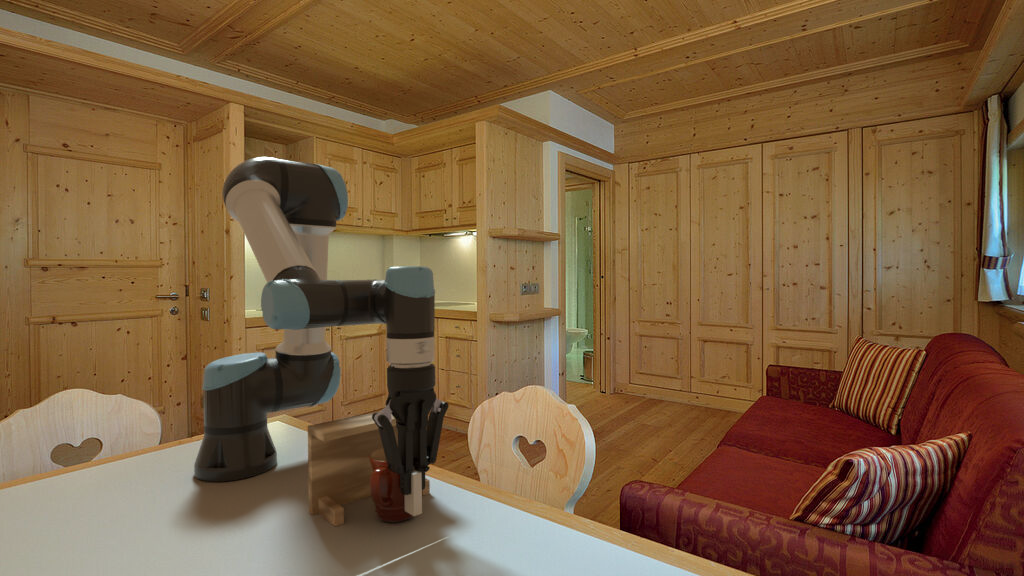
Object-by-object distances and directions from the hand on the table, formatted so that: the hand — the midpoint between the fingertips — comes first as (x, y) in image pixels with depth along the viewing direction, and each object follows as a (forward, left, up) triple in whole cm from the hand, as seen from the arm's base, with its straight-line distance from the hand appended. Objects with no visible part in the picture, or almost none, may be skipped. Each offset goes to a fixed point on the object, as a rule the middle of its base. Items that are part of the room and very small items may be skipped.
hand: (413, 511), depth 81 cm
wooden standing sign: (-16, 0, -2) cm, 16 cm away
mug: (-4, -1, -2) cm, 5 cm away
